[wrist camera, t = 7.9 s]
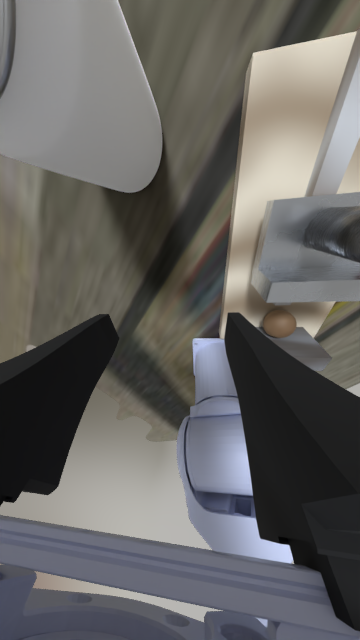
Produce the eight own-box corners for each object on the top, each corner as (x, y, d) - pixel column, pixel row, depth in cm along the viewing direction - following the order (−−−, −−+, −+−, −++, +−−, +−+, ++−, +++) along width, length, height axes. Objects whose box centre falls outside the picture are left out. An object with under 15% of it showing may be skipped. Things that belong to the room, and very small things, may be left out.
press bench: (305, 332, 21) (342, 372, 16) (218, 332, 22) (225, 368, 17) (471, 29, 8) (971, -305, 3) (245, 73, 10) (306, -98, 4)
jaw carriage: (340, 279, 14) (446, 326, 8) (250, 282, 15) (285, 327, 9) (391, 189, 10) (659, 155, 4) (267, 201, 11) (346, 186, 5)
